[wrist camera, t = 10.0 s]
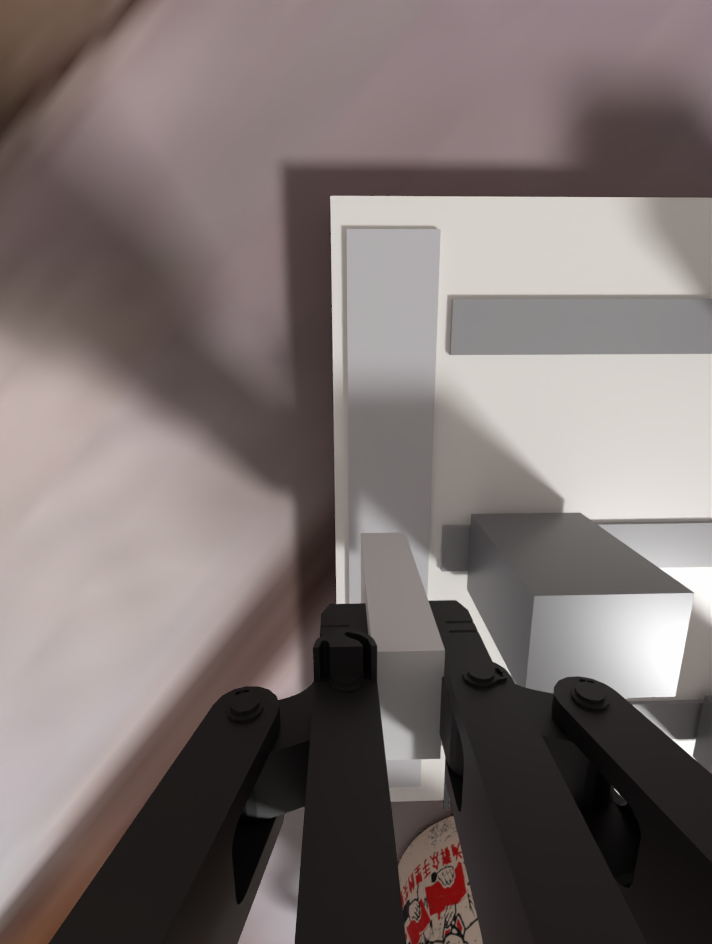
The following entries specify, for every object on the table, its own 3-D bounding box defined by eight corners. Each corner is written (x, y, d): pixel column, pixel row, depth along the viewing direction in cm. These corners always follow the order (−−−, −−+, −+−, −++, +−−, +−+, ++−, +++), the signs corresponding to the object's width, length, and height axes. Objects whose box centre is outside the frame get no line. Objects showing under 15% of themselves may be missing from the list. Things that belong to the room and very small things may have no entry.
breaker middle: (466, 589, 19) (524, 700, 13) (471, 513, 18) (534, 595, 12) (571, 587, 19) (674, 696, 13) (580, 512, 18) (694, 593, 12)
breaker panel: (339, 765, 24) (339, 807, 21) (331, 211, 17) (330, 193, 15) (828, 751, 24) (875, 790, 22) (982, 214, 18) (1067, 197, 16)
